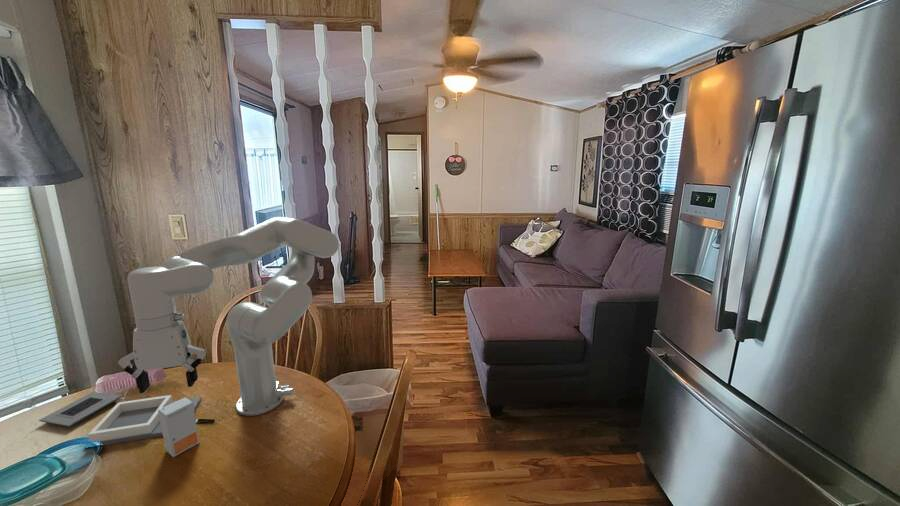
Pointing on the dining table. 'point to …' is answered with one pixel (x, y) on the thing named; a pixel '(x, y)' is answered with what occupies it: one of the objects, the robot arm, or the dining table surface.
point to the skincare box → (178, 426)
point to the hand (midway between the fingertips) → (169, 386)
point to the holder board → (133, 420)
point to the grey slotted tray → (80, 409)
